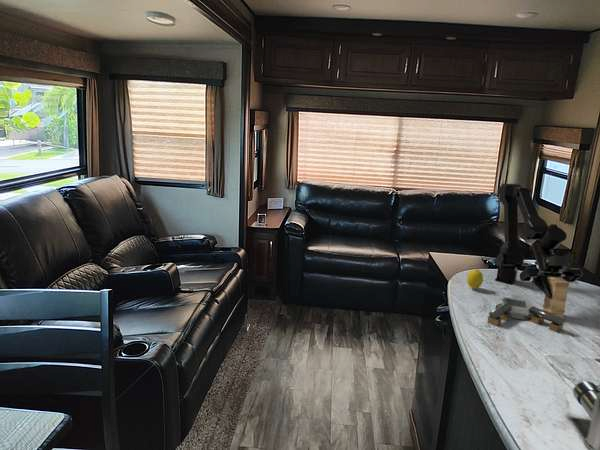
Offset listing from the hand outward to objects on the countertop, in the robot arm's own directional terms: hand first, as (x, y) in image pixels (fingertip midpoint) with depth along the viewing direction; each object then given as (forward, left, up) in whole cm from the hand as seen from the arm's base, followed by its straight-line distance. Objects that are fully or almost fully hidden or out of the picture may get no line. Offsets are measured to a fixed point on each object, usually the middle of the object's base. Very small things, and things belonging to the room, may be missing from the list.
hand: (558, 298), depth 146 cm
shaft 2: (-1, -9, -7) cm, 11 cm away
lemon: (-29, +7, -7) cm, 30 cm away
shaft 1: (-13, -16, -7) cm, 21 cm away
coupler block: (-1, +1, -7) cm, 7 cm away
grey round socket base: (-11, -5, -7) cm, 14 cm away
